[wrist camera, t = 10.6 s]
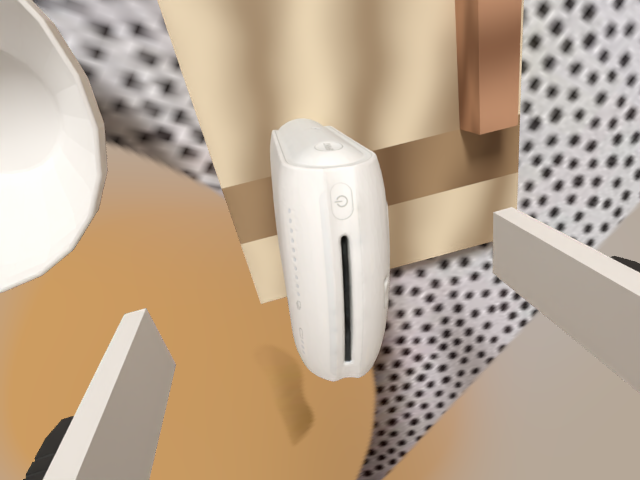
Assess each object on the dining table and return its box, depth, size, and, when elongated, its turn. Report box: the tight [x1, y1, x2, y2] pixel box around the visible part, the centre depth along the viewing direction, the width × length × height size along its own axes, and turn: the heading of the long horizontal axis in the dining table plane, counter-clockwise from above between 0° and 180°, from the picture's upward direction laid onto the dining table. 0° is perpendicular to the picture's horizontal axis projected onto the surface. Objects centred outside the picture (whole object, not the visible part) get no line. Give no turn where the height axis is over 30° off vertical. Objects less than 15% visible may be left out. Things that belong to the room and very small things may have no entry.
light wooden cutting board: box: [157, 0, 524, 304], centre depth 23 cm, size 20×23×2 cm
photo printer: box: [270, 118, 390, 381], centre depth 19 cm, size 10×4×12 cm, turn 4°
